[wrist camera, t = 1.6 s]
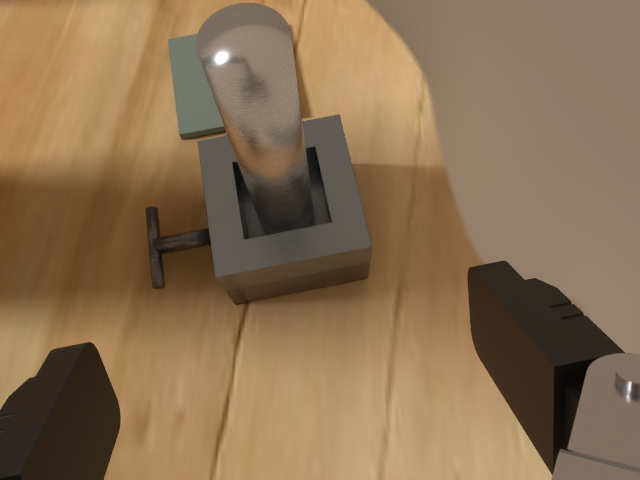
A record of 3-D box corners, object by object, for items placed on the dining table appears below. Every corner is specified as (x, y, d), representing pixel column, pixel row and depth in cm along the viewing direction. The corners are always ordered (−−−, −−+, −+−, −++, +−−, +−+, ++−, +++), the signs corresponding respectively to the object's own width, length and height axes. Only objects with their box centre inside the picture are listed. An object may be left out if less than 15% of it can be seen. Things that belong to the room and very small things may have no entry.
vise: (163, 319, 33) (129, 294, 28) (151, 199, 36) (119, 156, 30) (367, 278, 33) (371, 246, 28) (340, 162, 36) (339, 114, 31)
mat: (181, 139, 37) (179, 134, 36) (170, 45, 40) (168, 39, 39) (299, 117, 37) (298, 111, 37) (279, 25, 40) (278, 19, 40)
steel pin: (262, 241, 31) (201, 87, 18) (253, 191, 32) (191, 12, 19) (318, 230, 31) (299, 70, 18) (307, 180, 32) (282, -5, 19)
